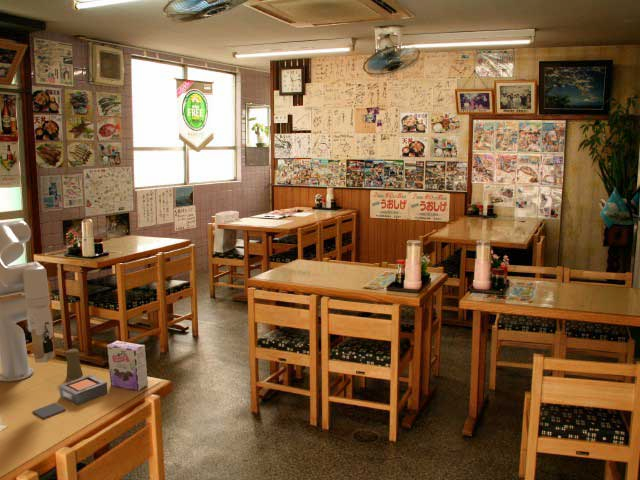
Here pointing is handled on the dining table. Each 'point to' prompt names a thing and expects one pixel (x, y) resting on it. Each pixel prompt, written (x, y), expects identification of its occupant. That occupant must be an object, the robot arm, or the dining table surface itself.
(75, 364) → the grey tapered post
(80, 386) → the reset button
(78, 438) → the dining table surface
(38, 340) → the skincare box
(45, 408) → the coaster
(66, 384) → the box
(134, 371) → the candy box
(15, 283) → the robot arm
